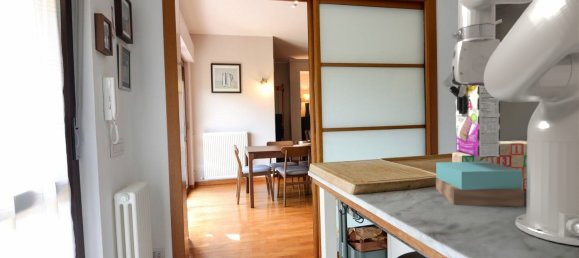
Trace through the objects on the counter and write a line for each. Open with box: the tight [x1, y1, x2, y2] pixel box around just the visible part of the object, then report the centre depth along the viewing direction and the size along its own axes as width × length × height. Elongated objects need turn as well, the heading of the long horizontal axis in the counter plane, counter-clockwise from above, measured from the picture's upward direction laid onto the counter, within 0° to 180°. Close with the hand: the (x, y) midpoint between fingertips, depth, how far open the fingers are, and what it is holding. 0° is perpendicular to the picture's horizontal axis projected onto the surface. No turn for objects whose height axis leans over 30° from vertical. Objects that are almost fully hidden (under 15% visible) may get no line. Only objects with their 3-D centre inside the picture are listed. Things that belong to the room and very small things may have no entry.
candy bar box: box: [455, 85, 501, 158], centre depth 74 cm, size 11×5×16 cm, turn 176°
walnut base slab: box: [435, 177, 525, 207], centre depth 75 cm, size 14×14×4 cm
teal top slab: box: [435, 161, 522, 190], centre depth 75 cm, size 13×13×4 cm
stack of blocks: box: [451, 140, 527, 191], centre depth 84 cm, size 21×6×12 cm, turn 83°
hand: (476, 112), depth 74 cm, fingers closed on candy bar box, 5 cm apart
